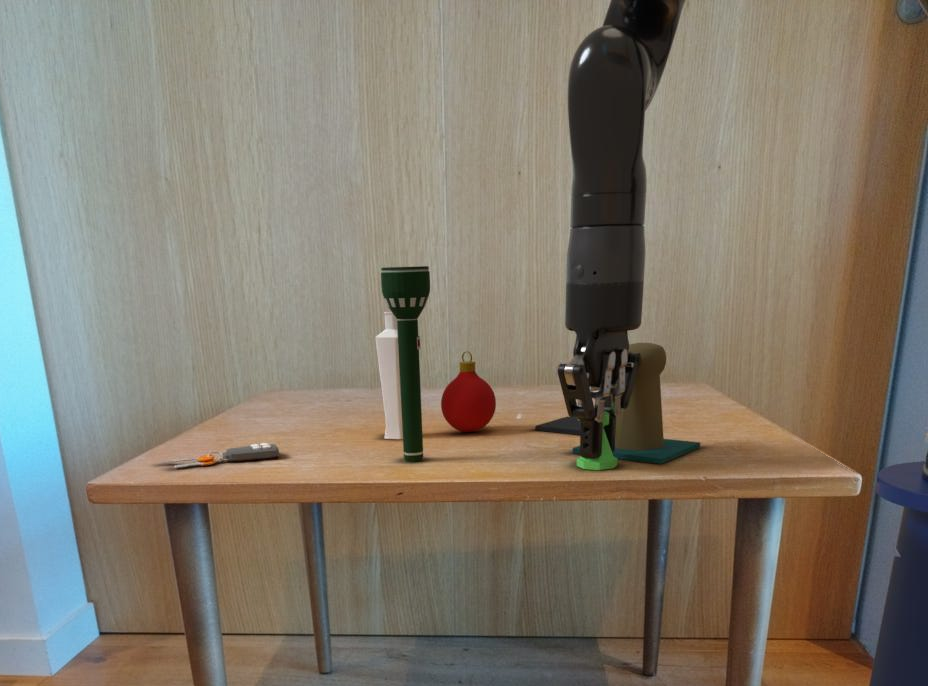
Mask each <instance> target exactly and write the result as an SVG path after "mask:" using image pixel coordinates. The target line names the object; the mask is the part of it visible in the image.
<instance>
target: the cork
mask: <svg viewBox="0 0 928 686" xmlns="http://www.w3.org/2000/svg"><path fill="white" fill-rule="evenodd" d="M629 351H630V352H631V353H640V355H641V361H640V365H639V369H638V372H637V376H636V380H635V383H634V387H633V391H632V394H631V398H630V401H629V405H628V407H627V408H626V409H623V408H622V409H621V413H620V415H619V417H616V432H615V448H617V449H623V450H653V449H659V448H662V447H663V446H664V439H665V437H664V424H663V423H664V422H663V405H662V391H661V390H662V389H661V374H662V373H663V372H664V370H665V367H666V365H667V353H666V351H665V349H664V346H662V345H660V344H657V343H653V342H635V343H629ZM621 396H622V394H621Z"/></svg>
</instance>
